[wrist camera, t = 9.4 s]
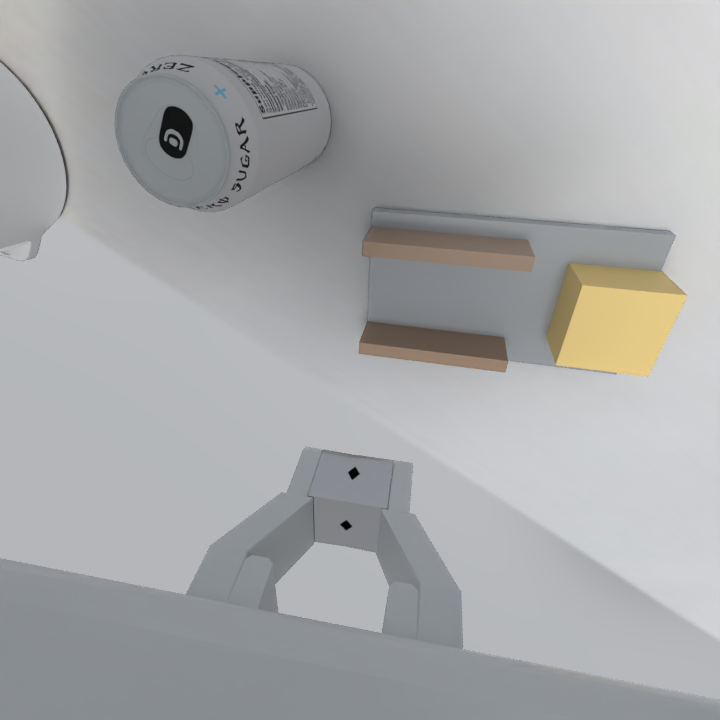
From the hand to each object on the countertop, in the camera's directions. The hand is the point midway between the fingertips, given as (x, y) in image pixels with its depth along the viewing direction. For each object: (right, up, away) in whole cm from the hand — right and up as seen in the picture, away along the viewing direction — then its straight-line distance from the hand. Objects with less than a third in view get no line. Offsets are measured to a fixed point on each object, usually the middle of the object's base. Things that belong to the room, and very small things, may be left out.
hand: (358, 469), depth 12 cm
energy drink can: (-5, +20, +18) cm, 27 cm away
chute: (+11, +8, +21) cm, 25 cm away
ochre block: (+18, +7, +19) cm, 27 cm away
